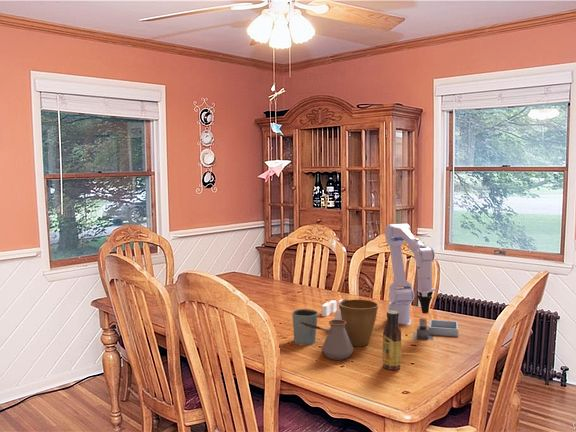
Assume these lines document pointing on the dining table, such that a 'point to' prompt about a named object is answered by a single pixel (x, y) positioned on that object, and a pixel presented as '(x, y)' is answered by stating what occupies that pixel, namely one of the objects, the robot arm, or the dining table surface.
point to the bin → (443, 327)
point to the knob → (423, 329)
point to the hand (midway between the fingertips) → (425, 311)
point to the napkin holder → (329, 308)
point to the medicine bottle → (338, 313)
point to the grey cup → (304, 333)
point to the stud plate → (422, 338)
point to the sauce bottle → (392, 342)
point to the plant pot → (359, 320)
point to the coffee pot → (335, 340)
